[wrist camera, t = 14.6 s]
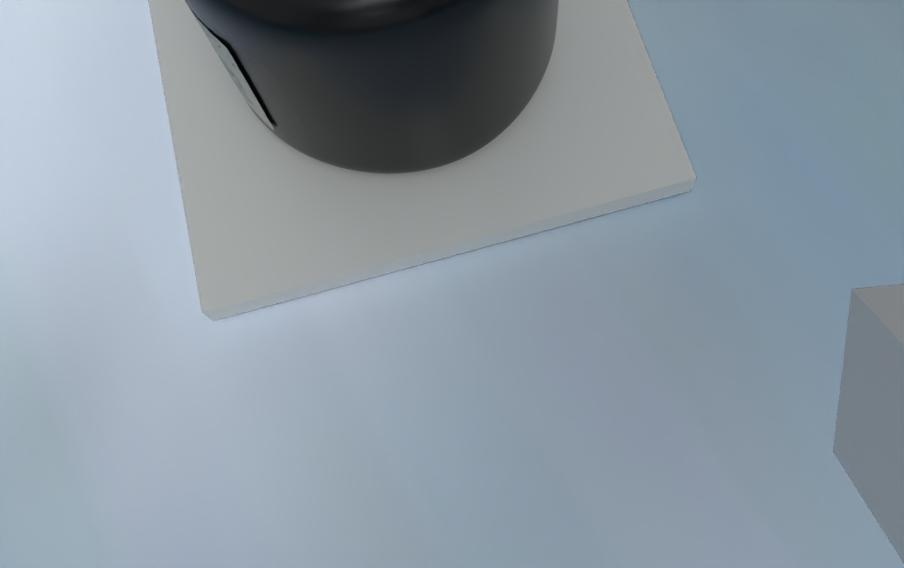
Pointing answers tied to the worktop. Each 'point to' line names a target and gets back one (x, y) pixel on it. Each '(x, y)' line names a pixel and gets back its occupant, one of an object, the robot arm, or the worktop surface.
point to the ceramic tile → (416, 193)
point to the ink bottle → (383, 73)
